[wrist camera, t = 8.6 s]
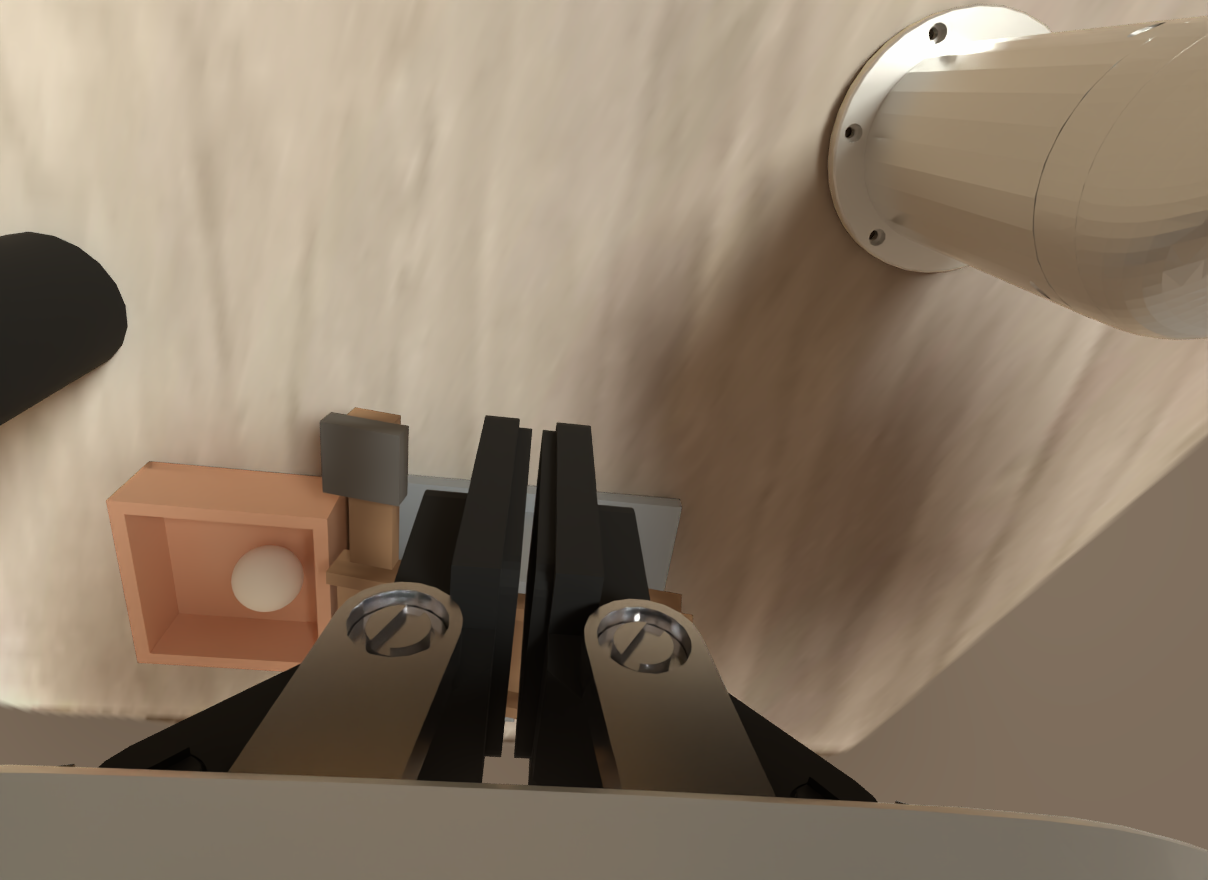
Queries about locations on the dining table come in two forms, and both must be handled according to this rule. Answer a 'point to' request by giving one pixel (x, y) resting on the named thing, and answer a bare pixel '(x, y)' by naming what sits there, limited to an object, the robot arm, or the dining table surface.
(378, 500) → the lever
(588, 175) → the dining table surface
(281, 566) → the ball
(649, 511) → the stand
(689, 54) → the dining table surface
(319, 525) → the pink hollow square tray
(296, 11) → the dining table surface
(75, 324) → the wine bottle
